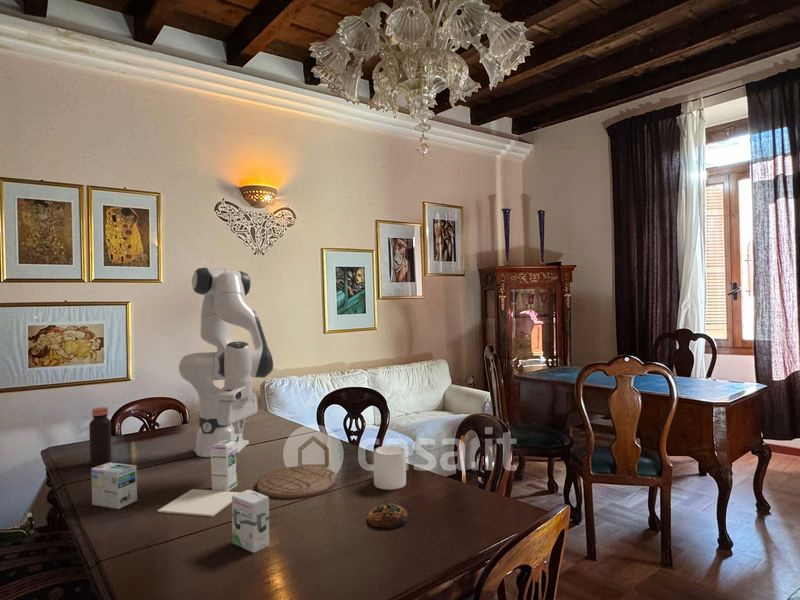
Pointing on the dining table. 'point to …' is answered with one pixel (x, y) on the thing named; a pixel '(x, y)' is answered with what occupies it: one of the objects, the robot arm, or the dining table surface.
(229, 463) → the syrup box
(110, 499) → the light bulb box
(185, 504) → the mat
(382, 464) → the mug
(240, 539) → the ink box
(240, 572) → the dining table surface
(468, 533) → the dining table surface
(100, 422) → the bottle
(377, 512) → the bread roll
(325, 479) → the trivet
